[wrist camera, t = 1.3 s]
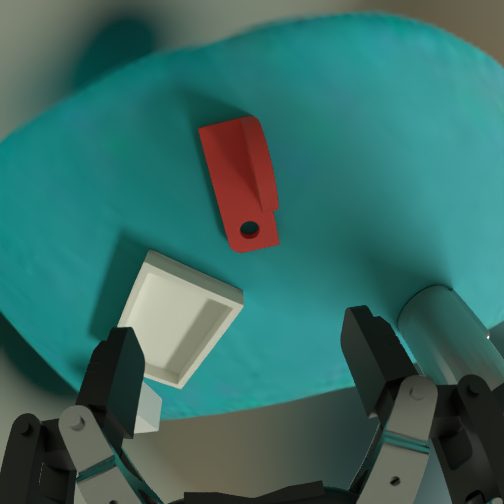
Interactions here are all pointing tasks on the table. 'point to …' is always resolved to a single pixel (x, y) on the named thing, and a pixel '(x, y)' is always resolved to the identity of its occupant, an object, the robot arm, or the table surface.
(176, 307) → the holder tray
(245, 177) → the bracket
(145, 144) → the table surface
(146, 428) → the white cube
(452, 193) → the table surface
